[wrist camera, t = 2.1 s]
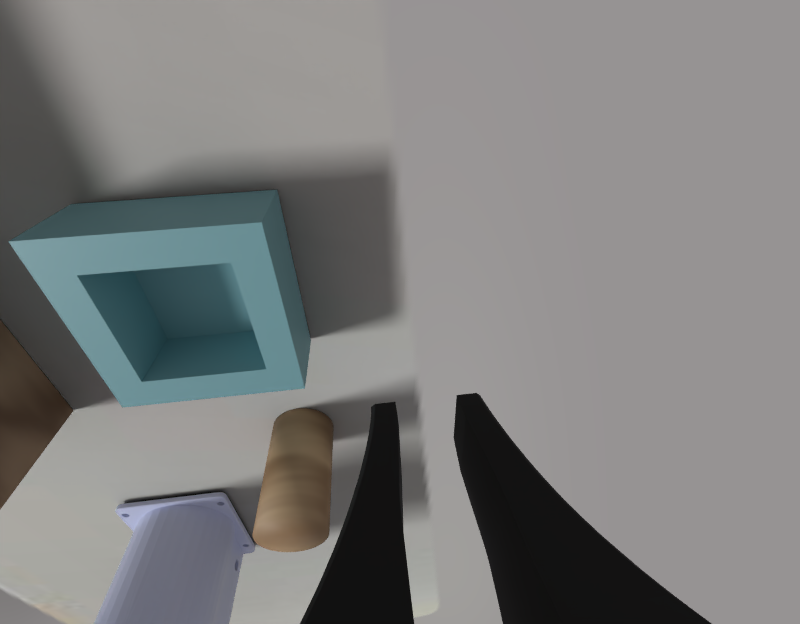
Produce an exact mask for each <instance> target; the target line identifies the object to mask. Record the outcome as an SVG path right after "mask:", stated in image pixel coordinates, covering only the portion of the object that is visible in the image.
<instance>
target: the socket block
mask: <svg viewBox="0 0 800 624" xmlns="http://www.w3.org/2000/svg"><path fill="white" fill-rule="evenodd" d="M8 242H9V243H10V245H11V246H12V248H13V249H14V251H15V252H16V253H17V255H18V256H19V258H20V259H21V261H22V262H23V264H24V265H25V267H26V268H27V269H28V271H29V272H30V274H31V275H32V277H33V278H34V280H35V281H36V283H37V284H38V285H39V287H40V288H41V290H42V291H43V293H44V294H45V296H46V297H47V299H48V300H49V301H50V303H51V304H52V306H53V307H54V309H55V310H56V312H57V313H58V315H59V316H60V317H61V319H62V320H63V322H64V323H65V325H66V326H67V328H68V329H69V331H70V332H71V333H72V335H73V336H74V338H75V339H76V341H77V342H78V344H79V345H80V347H81V348H82V349H83V351H84V352H85V354H86V355H87V357H88V358H89V360H90V361H91V363H92V364H93V365H94V367H95V368H96V370H97V371H98V373H99V374H100V376H101V377H102V379H103V380H104V381H105V383H106V384H107V386H108V387H109V389H110V390H111V392H112V393H113V395H114V396H115V397H116V399H117V400H118V402H119V403H120V405H121V406H122V407H131V406H141V405H150V404H160V403H170V402H179V401H189V400H198V399H208V398H217V397H227V396H236V395H246V394H255V393H265V392H274V391H284V390H293V389H303V388H305V383H306V375H307V367H308V359H309V351H310V343H311V339H310V334H309V330H308V326H307V321H306V317H305V312H304V308H303V303H302V299H301V294H300V290H299V285H298V281H297V276H296V272H295V267H294V263H293V259H292V254H291V250H290V245H289V241H288V236H287V232H286V227H285V223H284V218H283V214H282V209H281V205H280V200H279V196H278V191H277V190H265V191H251V192H236V193H222V194H208V195H194V196H180V197H165V198H151V199H137V200H123V201H108V202H94V203H80V204H70V205H69V206H67V207H65V208H64V209H62V210H60V211H59V212H57V213H55V214H54V215H52V216H50V217H49V218H47V219H45V220H44V221H42V222H40V223H39V224H37V225H35V226H34V227H32V228H30V229H29V230H27V231H25V232H24V233H22V234H20V235H18V236H17V237H15V238H13V239H12V240H10V241H8Z"/></svg>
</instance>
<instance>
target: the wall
mask: <svg viewBox="0 0 800 624" xmlns="http://www.w3.org/2000/svg"><path fill="white" fill-rule="evenodd" d="M72 412H73V410H72V408H71V407H70V406H69V405H68V403H67V402H66V401H65V400H64V398H63V397H62V396H61V395H60V393H59V392H58V391H57V390H56V388H55V387H54V386H53V385H52V383H51V382H50V381H49V380H48V378H47V377H46V376H45V375H44V374H43V372H42V371H41V370H40V369H39V367H38V366H37V365H36V364H35V362H34V361H33V360H32V359H31V357H30V356H29V355H28V354H27V352H26V351H25V350H24V349H23V347H22V346H21V345H20V344H19V342H18V341H17V340H16V339H15V337H14V336H13V335H12V334H11V333H10V331H9V330H8V329H7V328H6V326H5V325H4V324H3V323H2V321H1V320H0V509H1V508H2V506H3V505H4V504H5V502H6V501H7V500H8V498H9V497H10V496H11V494H12V493H13V491H14V490H15V489H16V487H17V486H18V485H19V483H20V482H21V481H22V479H23V478H24V477H25V475H26V474H27V473H28V471H29V470H30V468H31V467H32V466H33V464H34V463H35V462H36V460H37V459H38V458H39V456H40V455H41V454H42V452H43V451H44V450H45V448H46V447H47V445H48V444H49V443H50V441H51V440H52V439H53V437H54V436H55V435H56V433H57V432H58V431H59V429H60V428H61V427H62V425H63V424H64V423H65V421H66V420H67V418H68V417H69V416H70V414H71V413H72Z"/></svg>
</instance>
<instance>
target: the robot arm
mask: <svg viewBox="0 0 800 624" xmlns="http://www.w3.org/2000/svg"><path fill="white" fill-rule="evenodd" d="M454 441H455V446H456V451H457V456H458V461H459V466H460V470H461V474H462V477H463V480H464V483H465V486H466V490H467V493H468V496H469V499H470V502H471V505H472V508H473V511H474V514H475V517H476V520H477V524H478V527H479V530H480V533H481V536H482V539H483V542H484V546H485V549H486V553H487V556H488V560H489V564H490V568H491V572H492V577H493V581H494V585H495V589H496V594H497V598H498V603H499V607H500V612H501V616H502V621H503V624H711V623H710V622H709V621H707V620H706V619H705V618H703V617H702V616H700V615H699V614H698V613H696V612H695V611H694V610H692V609H691V608H689V607H688V606H687V605H686V604H684V603H683V602H682V601H680V600H679V599H678V598H677V597H675V596H674V595H673V594H671V593H670V592H669V591H667V590H666V589H665V588H664V587H662V586H661V585H660V584H659V583H657V582H656V581H655V580H654V579H652V578H651V577H650V576H649V575H647V574H646V573H645V572H644V571H642V570H641V569H640V568H639V567H637V566H636V565H635V564H634V563H633V562H632V561H631V560H629V559H628V558H627V557H626V556H625V555H624V554H622V553H621V552H620V551H619V550H618V549H616V548H615V547H614V546H613V545H612V544H611V543H610V542H608V541H607V540H606V539H605V538H604V537H603V536H602V535H600V534H599V533H598V532H597V531H596V530H595V529H594V528H593V527H592V526H591V525H590V524H589V523H588V522H587V521H585V520H584V519H583V518H582V517H581V516H580V515H579V514H578V513H577V512H576V511H575V510H574V509H573V508H572V507H571V506H570V505H569V504H568V503H567V502H566V501H565V500H564V499H563V498H562V497H561V496H560V495H559V494H558V493H557V492H556V491H555V490H554V488H552V486H551V485H550V484H549V483H548V482H547V481H546V480H545V479H544V478H543V476H542V475H541V474H540V473H539V472H538V471H537V470H536V469H535V468H534V466H533V465H532V464H531V463H530V462H529V460H528V459H527V458H526V457H525V456H524V454H523V453H522V452H521V451H520V449H519V448H518V447H517V446H516V445H515V443H514V442H513V441H512V440H511V438H510V437H509V436H508V435H507V433H506V432H505V431H504V429H503V428H502V426H501V425H500V424H499V422H498V421H497V420H496V418H495V417H494V416H493V414H492V413H491V411H490V410H489V408H488V407H487V406H486V404H485V402H484V401H483V399H482V398H481V396H480V395H479V394H477V393H473V394H463V395H457V400H456V414H455V428H454ZM115 512H116V513H117V514H118V515H119V516H120V518H121V519H122V520H123V521H124V522H125V523H126V524H127V525H128V526H129V527H130V528H131V529H132V531H133V535H132V537H131V539H130V542H129V544H128V546H127V548H126V551H125V553H124V555H123V558H122V560H121V562H120V565H119V567H118V569H117V571H116V574H115V576H114V578H113V581H112V583H111V585H110V588H109V590H108V592H107V594H106V597H105V599H104V601H103V604H102V606H101V608H100V610H99V613H98V615H97V617H96V620H95V622H94V624H229V621H230V617H231V612H232V607H233V602H234V597H235V592H236V587H237V582H238V577H239V572H240V567H241V563H242V558H243V554H246V553H252V552H254V550H255V545H254V543H253V541H252V539H251V538H250V536H249V534H248V532H247V530H246V529H245V527H244V525H243V523H242V522H241V520H240V518H239V516H238V514H237V513H236V511H235V509H234V507H233V506H232V504H231V502H230V500H229V498H228V497H227V495H226V494H225V493H223V492H216V493H207V494H199V495H191V496H183V497H174V498H166V499H158V500H150V501H141V502H133V503H125V504H120V505H118V506H117V508H116V510H115ZM300 624H414V619H413V611H412V602H411V594H410V585H409V577H408V568H407V560H406V551H405V543H404V534H403V503H402V473H401V457H400V440H399V424H398V417H397V410H396V404H395V402H390V403H381V404H375V405H373V406H372V407H371V423H370V430H369V436H368V441H367V447H366V451H365V455H364V459H363V463H362V467H361V471H360V475H359V479H358V482H357V485H356V488H355V491H354V495H353V498H352V501H351V504H350V507H349V510H348V513H347V516H346V519H345V522H344V524H343V527H342V530H341V532H340V535H339V538H338V540H337V543H336V545H335V548H334V550H333V553H332V555H331V557H330V560H329V562H328V564H327V567H326V569H325V572H324V574H323V576H322V578H321V581H320V583H319V585H318V587H317V590H316V592H315V594H314V596H313V598H312V600H311V602H310V604H309V606H308V608H307V610H306V612H305V615H304V617H303V619H302V621H301V623H300Z"/></svg>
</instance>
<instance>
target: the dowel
mask: <svg viewBox="0 0 800 624" xmlns="http://www.w3.org/2000/svg"><path fill="white" fill-rule="evenodd" d="M332 449H333V423H332V421H331V419H330V418H329V417H328V416H327V415H326V414H324V413H322V412H320V411H317V410H314V409H308V408H299V409H293V410H289V411H287V412H284V413H283V414H281V415H280V416H279V417H278V418H277V419H276V420H275V422H274V426H273V431H272V436H271V441H270V446H269V452H268V457H267V462H266V467H265V472H264V477H263V483H262V488H261V493H260V498H259V503H258V508H257V513H256V519H255V524H254V529H253V534H252V536H253V539H254V541H255V542H256V543H257V544H258V545H260V546H261V547H263V548H266V549H269V550H273V551H279V552H297V551H304V550H308V549H311V548H314V547H316V546H318V545H320V544H322V543H323V542H324V541H325V540H326V539H327V538H328V536H329V525H330V500H331V475H332Z"/></svg>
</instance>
